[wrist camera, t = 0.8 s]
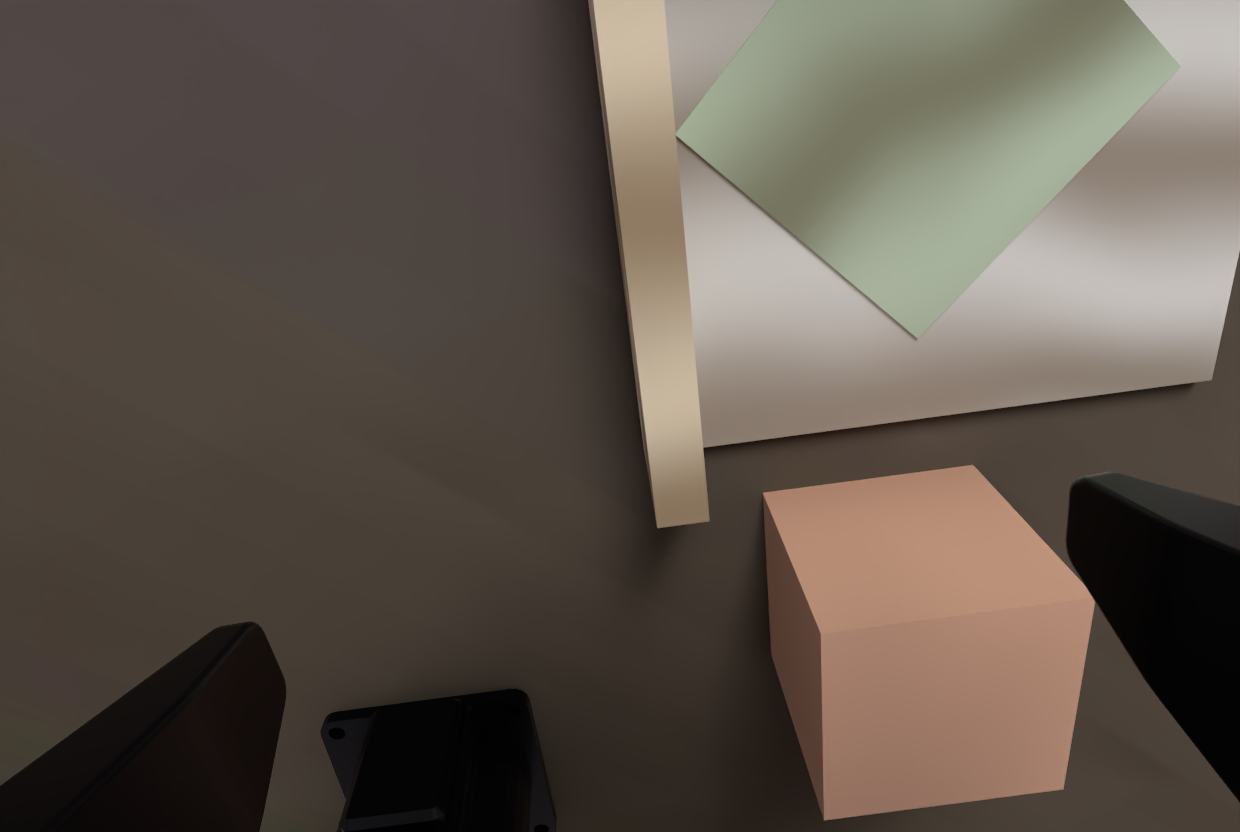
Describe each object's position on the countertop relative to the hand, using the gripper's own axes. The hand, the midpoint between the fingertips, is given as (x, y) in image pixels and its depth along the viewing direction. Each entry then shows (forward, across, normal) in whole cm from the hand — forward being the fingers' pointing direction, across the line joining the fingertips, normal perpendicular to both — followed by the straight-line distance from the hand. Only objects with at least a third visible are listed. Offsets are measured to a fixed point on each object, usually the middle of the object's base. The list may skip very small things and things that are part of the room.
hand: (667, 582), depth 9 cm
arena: (+12, -9, -2) cm, 15 cm away
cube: (+12, -6, +10) cm, 17 cm away
